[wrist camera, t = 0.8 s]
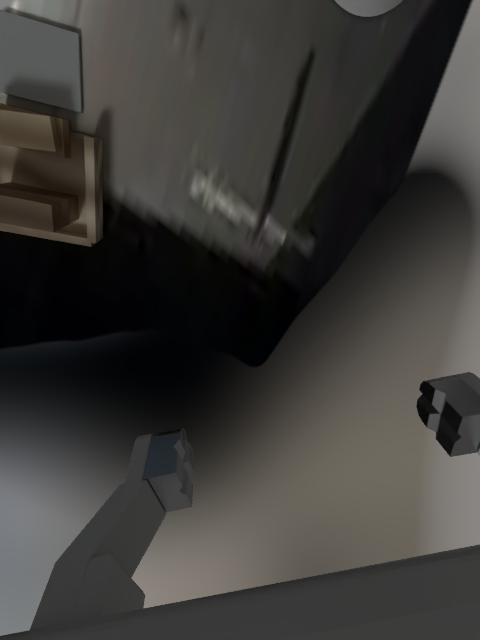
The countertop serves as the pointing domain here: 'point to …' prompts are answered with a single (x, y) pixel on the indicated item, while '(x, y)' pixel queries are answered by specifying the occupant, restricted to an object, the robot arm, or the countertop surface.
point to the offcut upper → (28, 131)
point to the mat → (40, 62)
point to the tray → (62, 185)
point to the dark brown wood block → (36, 207)
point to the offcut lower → (62, 130)
